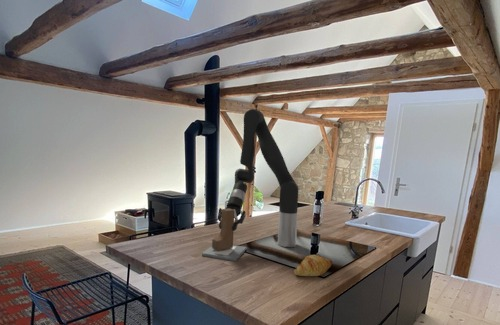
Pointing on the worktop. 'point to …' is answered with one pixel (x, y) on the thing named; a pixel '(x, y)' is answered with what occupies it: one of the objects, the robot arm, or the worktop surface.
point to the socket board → (225, 253)
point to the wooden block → (225, 231)
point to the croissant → (313, 266)
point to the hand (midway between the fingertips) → (226, 229)
